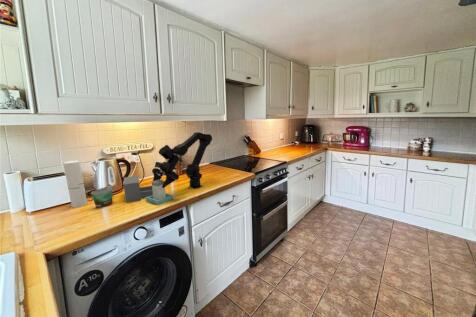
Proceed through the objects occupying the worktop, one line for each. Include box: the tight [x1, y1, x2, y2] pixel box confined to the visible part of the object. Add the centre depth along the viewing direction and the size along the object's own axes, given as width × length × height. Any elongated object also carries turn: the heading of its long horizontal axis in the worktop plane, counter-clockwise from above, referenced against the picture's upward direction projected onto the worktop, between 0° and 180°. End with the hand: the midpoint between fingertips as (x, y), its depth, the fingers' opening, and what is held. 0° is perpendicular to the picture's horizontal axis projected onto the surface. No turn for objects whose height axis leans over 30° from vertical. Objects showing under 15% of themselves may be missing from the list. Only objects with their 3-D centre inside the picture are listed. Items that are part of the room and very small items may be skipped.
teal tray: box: [145, 192, 174, 206], centre depth 126 cm, size 11×11×2 cm
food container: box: [91, 184, 114, 209], centre depth 121 cm, size 12×6×10 cm, turn 168°
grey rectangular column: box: [62, 160, 88, 208], centre depth 120 cm, size 7×7×25 cm
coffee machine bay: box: [123, 175, 153, 204], centre depth 133 cm, size 17×16×11 cm
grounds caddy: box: [151, 179, 167, 200], centre depth 125 cm, size 5×5×11 cm
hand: (157, 186), depth 124 cm, fingers open, 9 cm apart
